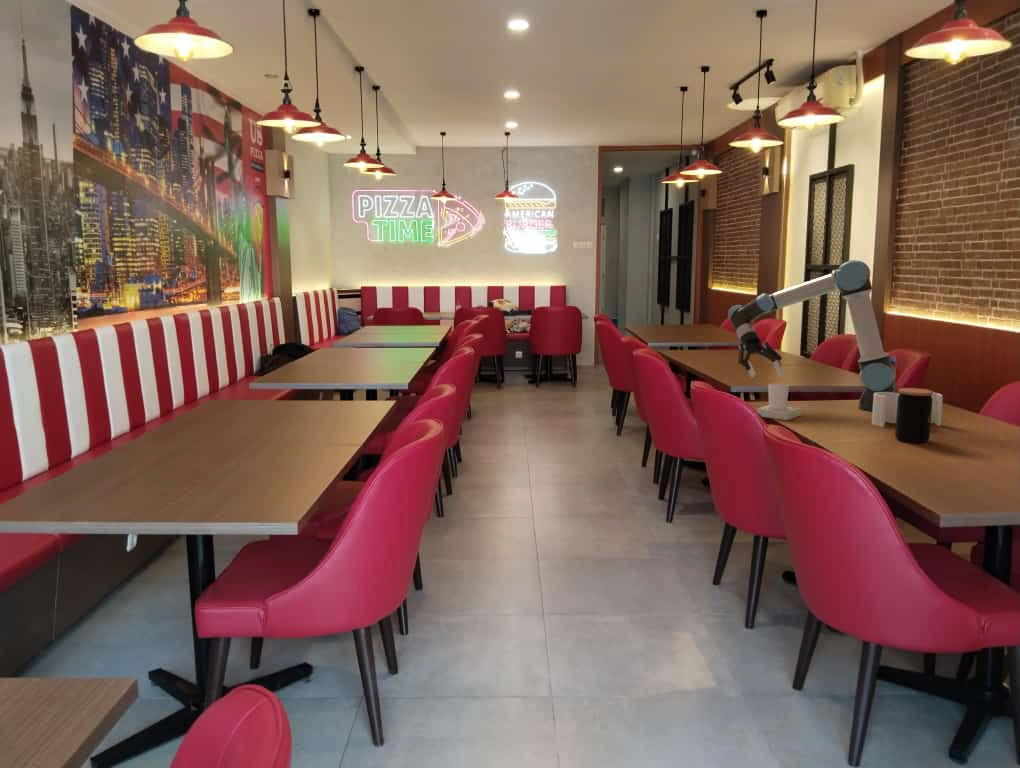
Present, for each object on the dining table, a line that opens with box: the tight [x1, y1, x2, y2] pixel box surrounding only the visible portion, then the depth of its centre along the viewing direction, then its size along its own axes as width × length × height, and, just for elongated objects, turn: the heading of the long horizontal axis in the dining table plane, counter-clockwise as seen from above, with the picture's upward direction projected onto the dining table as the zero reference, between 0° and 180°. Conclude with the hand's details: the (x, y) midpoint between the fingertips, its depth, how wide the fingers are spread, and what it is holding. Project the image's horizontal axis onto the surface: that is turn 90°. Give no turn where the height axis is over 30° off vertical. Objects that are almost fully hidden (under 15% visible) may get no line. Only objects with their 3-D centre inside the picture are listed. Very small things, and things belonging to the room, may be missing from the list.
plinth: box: [756, 404, 802, 421], centre depth 307 cm, size 13×13×3 cm
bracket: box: [871, 392, 944, 428], centre depth 289 cm, size 25×10×12 cm, turn 90°
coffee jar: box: [894, 387, 934, 444], centre depth 262 cm, size 11×11×18 cm
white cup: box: [768, 382, 790, 410], centre depth 306 cm, size 8×8×10 cm
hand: (767, 374), depth 313 cm, fingers open, 13 cm apart
